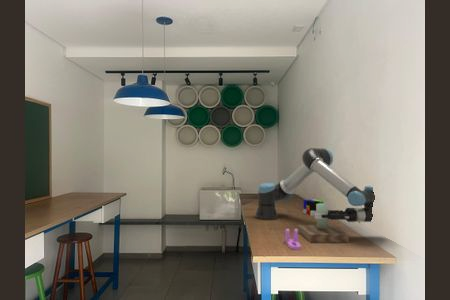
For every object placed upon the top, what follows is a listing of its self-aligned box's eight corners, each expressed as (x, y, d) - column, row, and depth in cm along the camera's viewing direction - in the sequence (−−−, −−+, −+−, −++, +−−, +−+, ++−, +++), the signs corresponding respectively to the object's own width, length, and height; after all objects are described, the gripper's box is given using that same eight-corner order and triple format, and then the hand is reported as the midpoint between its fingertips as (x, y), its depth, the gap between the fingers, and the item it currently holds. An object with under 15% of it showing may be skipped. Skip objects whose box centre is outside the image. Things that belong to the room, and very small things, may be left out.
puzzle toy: (303, 213, 229) (303, 199, 229) (313, 212, 233) (313, 199, 233) (312, 215, 220) (312, 201, 220) (323, 214, 224) (323, 201, 224)
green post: (318, 228, 160) (319, 205, 160) (314, 225, 166) (314, 203, 166) (329, 228, 161) (329, 205, 161) (325, 225, 167) (325, 203, 167)
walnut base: (310, 242, 153) (310, 234, 153) (297, 232, 173) (298, 225, 173) (348, 242, 154) (348, 234, 154) (332, 232, 174) (332, 225, 174)
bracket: (285, 241, 154) (285, 227, 154) (296, 241, 154) (296, 228, 154) (290, 249, 141) (290, 234, 141) (302, 250, 141) (302, 235, 141)
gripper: (363, 225, 155) (319, 225, 154) (346, 217, 174) (306, 217, 173) (363, 211, 155) (319, 211, 154) (346, 204, 174) (306, 204, 173)
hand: (312, 214), depth 163 cm, fingers closed on green post, 6 cm apart
